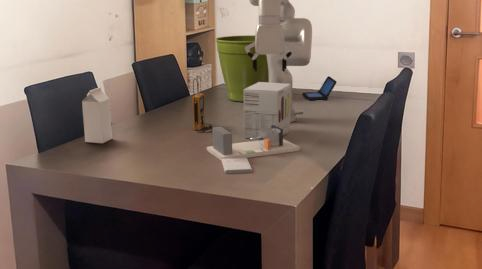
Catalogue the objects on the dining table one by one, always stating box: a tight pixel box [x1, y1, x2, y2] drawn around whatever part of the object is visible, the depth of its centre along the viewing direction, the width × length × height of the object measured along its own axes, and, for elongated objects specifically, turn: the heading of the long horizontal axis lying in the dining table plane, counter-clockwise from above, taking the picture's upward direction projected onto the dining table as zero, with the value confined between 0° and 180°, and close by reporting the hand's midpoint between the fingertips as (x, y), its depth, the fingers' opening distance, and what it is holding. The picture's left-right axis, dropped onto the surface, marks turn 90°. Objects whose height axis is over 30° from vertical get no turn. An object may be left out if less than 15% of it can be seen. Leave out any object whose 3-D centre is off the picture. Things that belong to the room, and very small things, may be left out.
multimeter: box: [191, 76, 214, 134], centre depth 242 cm, size 15×10×20 cm
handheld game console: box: [301, 76, 337, 102], centre depth 300 cm, size 16×13×9 cm
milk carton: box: [81, 86, 113, 144], centre depth 226 cm, size 7×7×19 cm
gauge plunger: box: [248, 125, 284, 148], centre depth 213 cm, size 10×10×6 cm
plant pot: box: [215, 34, 269, 103], centre depth 297 cm, size 30×30×29 cm
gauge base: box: [206, 126, 301, 162], centre depth 212 cm, size 28×14×8 cm, turn 113°
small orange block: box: [264, 138, 271, 149], centre depth 209 cm, size 1×3×3 cm, turn 22°
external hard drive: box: [221, 158, 253, 174], centre depth 196 cm, size 2×8×12 cm
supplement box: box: [243, 82, 291, 139], centre depth 232 cm, size 17×13×18 cm
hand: (269, 71), depth 221 cm, fingers open, 9 cm apart
